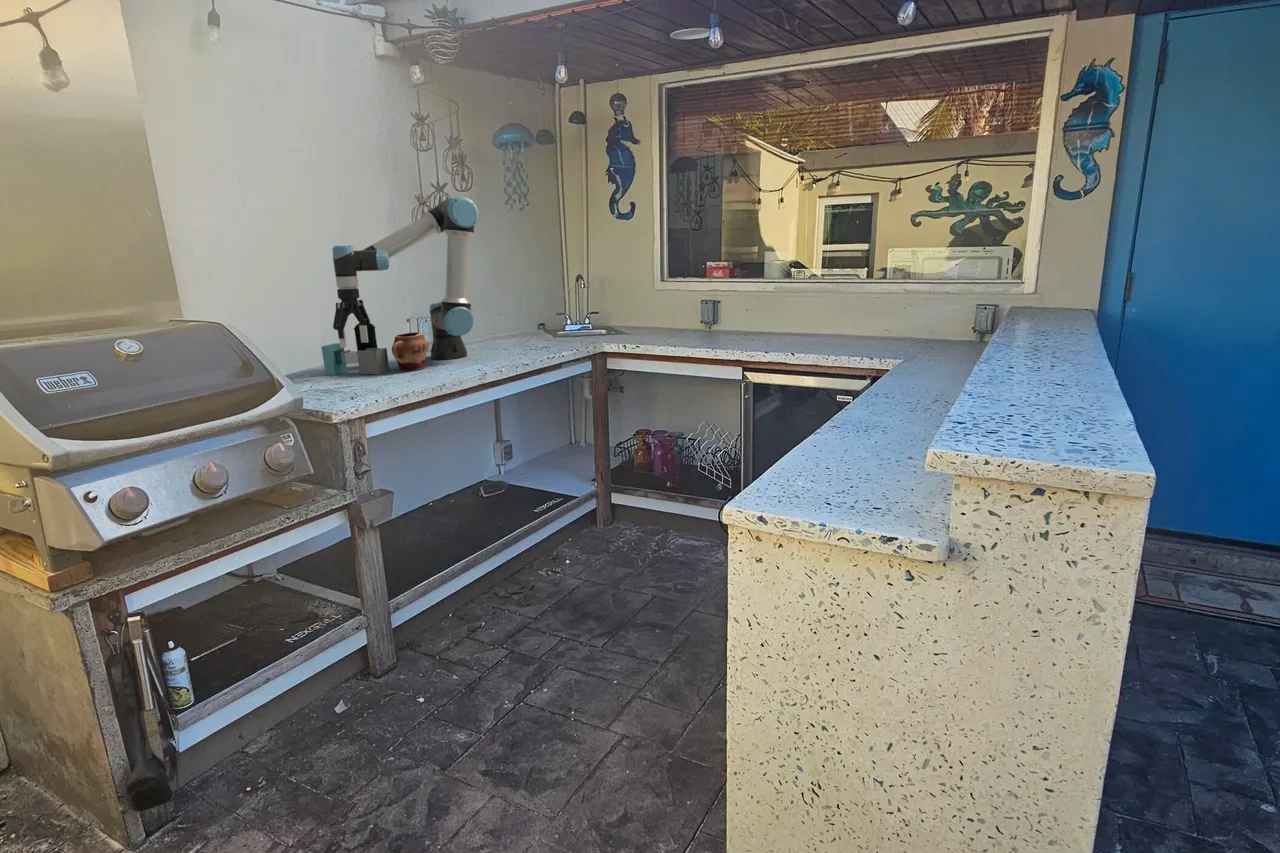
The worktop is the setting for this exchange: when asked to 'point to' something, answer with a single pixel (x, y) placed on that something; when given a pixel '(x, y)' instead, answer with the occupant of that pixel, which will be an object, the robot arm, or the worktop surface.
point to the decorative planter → (410, 351)
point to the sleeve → (373, 361)
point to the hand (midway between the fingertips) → (354, 344)
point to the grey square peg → (349, 357)
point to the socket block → (333, 359)
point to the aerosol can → (371, 338)
